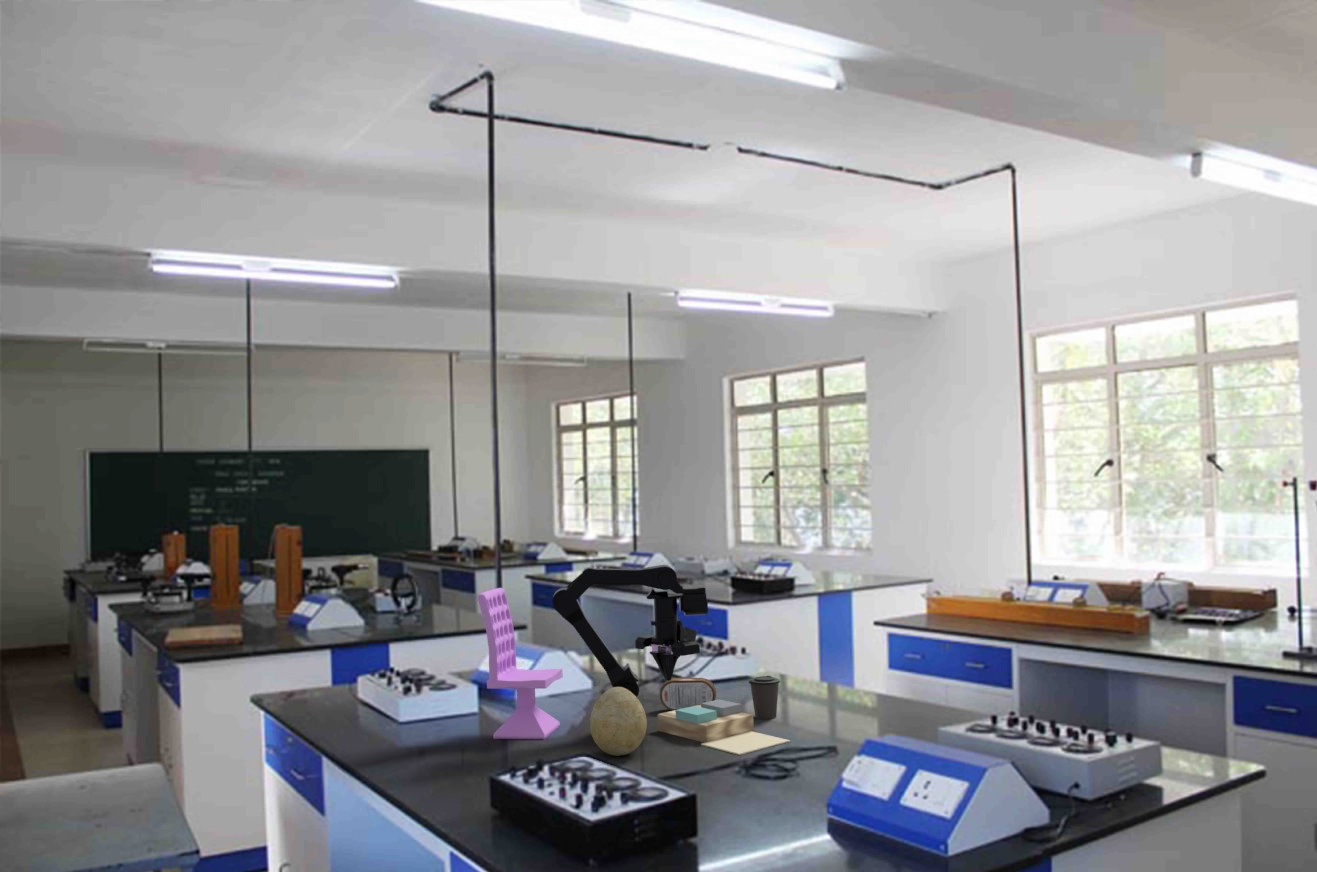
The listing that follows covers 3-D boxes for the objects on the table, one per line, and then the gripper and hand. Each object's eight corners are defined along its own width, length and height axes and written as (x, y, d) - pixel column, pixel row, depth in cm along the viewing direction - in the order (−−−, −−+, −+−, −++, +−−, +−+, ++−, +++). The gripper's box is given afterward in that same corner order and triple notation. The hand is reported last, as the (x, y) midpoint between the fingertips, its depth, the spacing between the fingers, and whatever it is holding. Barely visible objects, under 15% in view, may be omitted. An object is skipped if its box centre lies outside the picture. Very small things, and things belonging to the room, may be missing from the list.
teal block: (697, 723, 242) (697, 714, 242) (675, 718, 248) (675, 709, 248) (716, 719, 245) (716, 710, 245) (694, 714, 252) (694, 705, 252)
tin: (716, 708, 276) (715, 676, 276) (716, 711, 273) (715, 678, 273) (660, 709, 277) (659, 677, 278) (659, 711, 274) (658, 679, 274)
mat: (739, 754, 228) (739, 753, 228) (701, 744, 238) (701, 743, 238) (790, 741, 238) (790, 740, 238) (751, 732, 248) (751, 731, 248)
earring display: (547, 739, 248) (542, 592, 249) (478, 739, 251) (474, 594, 253) (564, 725, 262) (559, 586, 264) (499, 724, 265) (495, 587, 267)
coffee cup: (781, 712, 267) (779, 673, 268) (782, 720, 259) (780, 679, 260) (750, 713, 268) (748, 674, 268) (749, 720, 260) (748, 680, 260)
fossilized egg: (584, 751, 236) (581, 685, 236) (636, 744, 240) (634, 679, 241) (600, 765, 224) (598, 695, 224) (655, 757, 228) (653, 688, 229)
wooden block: (707, 743, 239) (706, 725, 239) (658, 730, 253) (657, 713, 253) (753, 731, 248) (753, 714, 249) (704, 719, 262) (703, 703, 263)
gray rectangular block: (723, 716, 248) (723, 707, 248) (701, 711, 254) (701, 703, 254) (741, 712, 252) (741, 703, 252) (719, 707, 258) (719, 699, 258)
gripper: (715, 615, 253) (718, 680, 252) (667, 610, 268) (669, 671, 267) (680, 620, 246) (683, 687, 245) (633, 614, 261) (635, 677, 260)
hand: (668, 680), depth 255 cm, fingers closed
